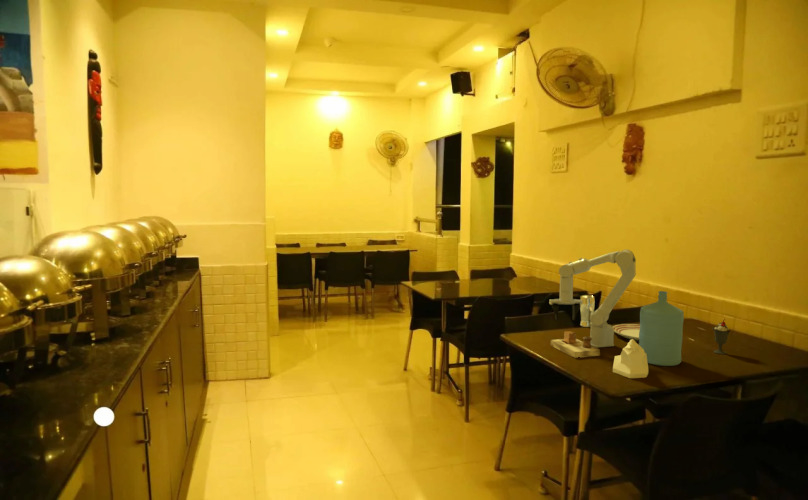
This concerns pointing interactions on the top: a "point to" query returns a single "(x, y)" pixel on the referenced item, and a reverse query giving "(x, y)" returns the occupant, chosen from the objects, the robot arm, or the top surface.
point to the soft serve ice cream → (631, 361)
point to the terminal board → (576, 347)
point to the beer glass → (586, 310)
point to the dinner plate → (628, 331)
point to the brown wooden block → (569, 337)
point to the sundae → (721, 336)
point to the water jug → (661, 332)
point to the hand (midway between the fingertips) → (565, 319)
